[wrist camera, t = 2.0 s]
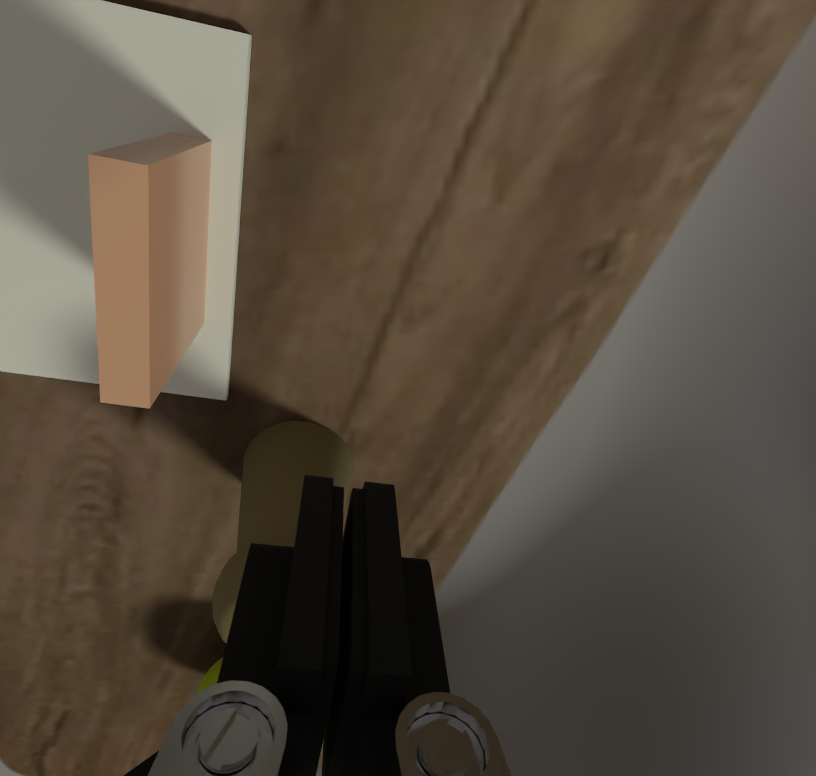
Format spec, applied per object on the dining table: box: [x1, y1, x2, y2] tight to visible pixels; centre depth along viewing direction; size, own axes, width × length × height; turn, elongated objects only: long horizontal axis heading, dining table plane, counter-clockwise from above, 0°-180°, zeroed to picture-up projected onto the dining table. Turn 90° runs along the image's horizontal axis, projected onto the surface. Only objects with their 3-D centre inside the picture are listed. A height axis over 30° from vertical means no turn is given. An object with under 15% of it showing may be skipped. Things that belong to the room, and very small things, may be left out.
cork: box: [212, 420, 353, 643], centre depth 27 cm, size 6×6×11 cm
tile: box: [88, 133, 212, 409], centre depth 21 cm, size 8×2×8 cm, turn 169°
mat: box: [0, 0, 252, 400], centre depth 24 cm, size 16×12×1 cm
